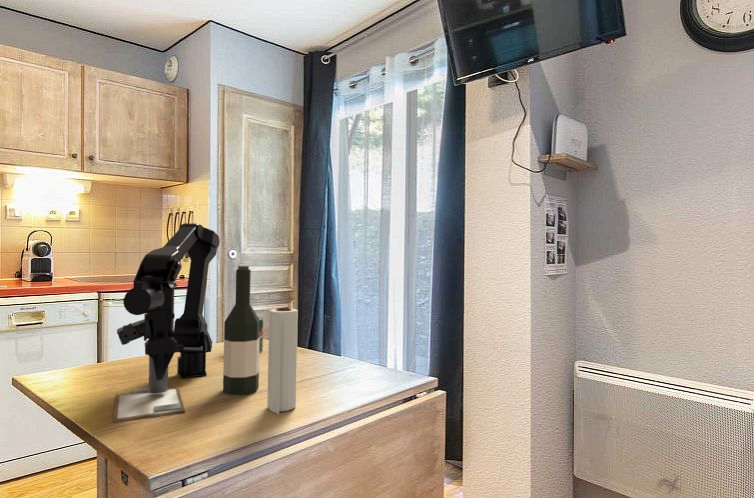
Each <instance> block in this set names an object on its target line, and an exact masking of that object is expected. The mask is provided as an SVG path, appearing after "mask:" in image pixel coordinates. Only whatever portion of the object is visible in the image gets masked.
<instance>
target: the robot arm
mask: <svg viewBox="0 0 754 498" xmlns="http://www.w3.org/2000/svg"><path fill="white" fill-rule="evenodd" d="M219 246H220V236H219V235H218V234H217V233H216V232H215V230H212V229H211V228H208V227H204V226H203V225H202V224H199V223H194V222H193V223H188V222H187V223H186V222H185V223H180V225H179V228H178V230H177V231H176V232H175V233H174V234H173V235H172V237H170V239H169V240H168V241H167V242H166V243H165V244H164V245H163V246H162V247H160V248H156V249H153V250H151V251H149V252H148V253H146V254H145V255H144V257H143V258H142V260H141V262H140V265H139V267H138V269H137V272H136V274H135V277H134V279H133V283H132V284H133V287H132V288H130V289H129V290H128V291H127V292H125V293H126V294H125V295H124V297H123V300H122V301H123V303H122V304H123V306H124V308H125V310H126V311H127V312H128V313H129V314H130V315H134V316H139V315H140V316H141V315H144V316H143V319H141V320H138V321H135V322H130V323H129V324H126V325H123V326H121V327H119V328H117V329H116V333H117V335H118V339H119V341H120V344H121V345H122V346H124V345H128V344H130V343H131V342H132V341H135V340H138V339H141V338H143V342H144V354H145V355H146V356H148V357H149V356H150V357H151V358H152V359H153V363H154V368H155V373H156V379H157V380H162V379H163V376H164V374H165V372H166V370H167V368H168V369H169V365H170V363H171V362H172V359H173V356H174V355H175V353H176V354H177V353H179V356H177V364H176V365H177V366H176V367H177V369H176V372H177V375H179V377H180V379H181V378H182V379H184V378H194V377H202V376H203V377H204V376H207V375H208V373H207V369H206V365H207V363H206V361H207V353H210V352H212V350H213V349H212V348H213V340H212V339H211V336H210V333H209V332H208V323H207V322H206V319H205V317H204V314H203V313H204V305H205V299H206V290H207V282H208V272H209V265H210V263H211V262H212V260H213V259H214V258H215V257H216V255H217V252H218V248H219ZM186 254H187V255H188V257H189V259H190V263H189V271H188V278H187V279H188V280H187V286H186V294H185V300H184V301H185V302H184V307H183V312H182V314H181V315H180V317H178V318H176V319H175V288H177V287H178V284H177V282H176V280H177V278H178V275H179V274H180V272H181V271H182V267H183V266H182V262H181V261H182V259H183V258H184V257H185V255H186ZM174 319H175V320H174Z"/></svg>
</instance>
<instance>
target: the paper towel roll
mask: <svg viewBox="0 0 754 498" xmlns="http://www.w3.org/2000/svg"><path fill="white" fill-rule="evenodd" d="M268 313H269V314H268V315H269V316H268V317H269V319H268V361H267V362H268V363H267V364H268V365H267V402H266V403H267V404H266V405H267V406H266V407H267V409H268V410H270V412H272V413H276V414H277V415H278V416H279V415H280V412H288V411H291V410H294V409H296V406H297V366H298V365H297V364H298V363H297V361H298V318H299V314H298V313H299V310H298V309H296V308H290V307H289V308H288V307H287V308H286V307H281V308H272V309H269V312H268Z"/></svg>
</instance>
